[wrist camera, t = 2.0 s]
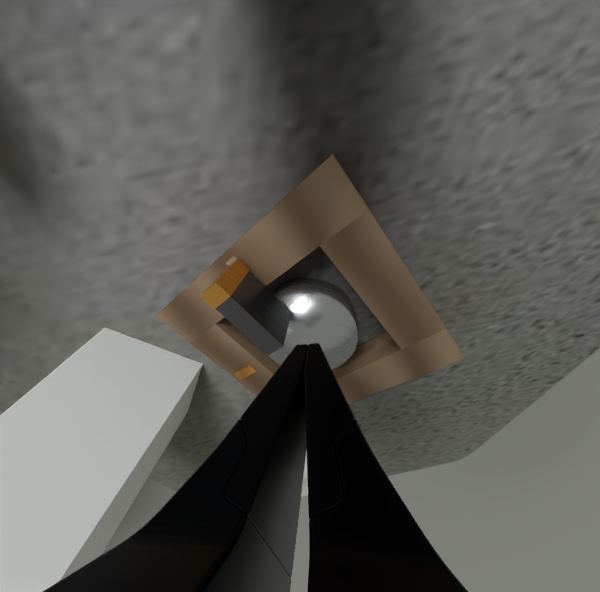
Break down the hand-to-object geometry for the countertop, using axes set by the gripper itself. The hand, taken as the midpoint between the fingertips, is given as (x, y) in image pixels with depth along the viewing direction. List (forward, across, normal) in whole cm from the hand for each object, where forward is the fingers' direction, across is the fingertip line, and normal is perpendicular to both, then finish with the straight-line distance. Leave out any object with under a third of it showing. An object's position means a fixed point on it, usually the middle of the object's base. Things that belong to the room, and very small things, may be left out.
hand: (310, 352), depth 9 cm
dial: (+13, +3, +5) cm, 14 cm away
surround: (+13, +2, +7) cm, 15 cm away
